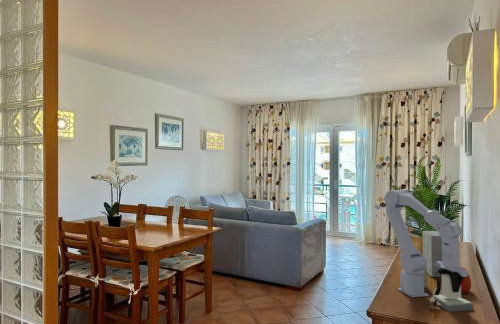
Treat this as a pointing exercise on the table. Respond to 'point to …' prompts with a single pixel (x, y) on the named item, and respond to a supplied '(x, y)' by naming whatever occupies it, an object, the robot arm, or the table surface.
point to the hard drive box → (432, 251)
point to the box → (425, 277)
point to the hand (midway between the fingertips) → (451, 289)
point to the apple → (466, 284)
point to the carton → (449, 288)
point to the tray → (453, 303)
